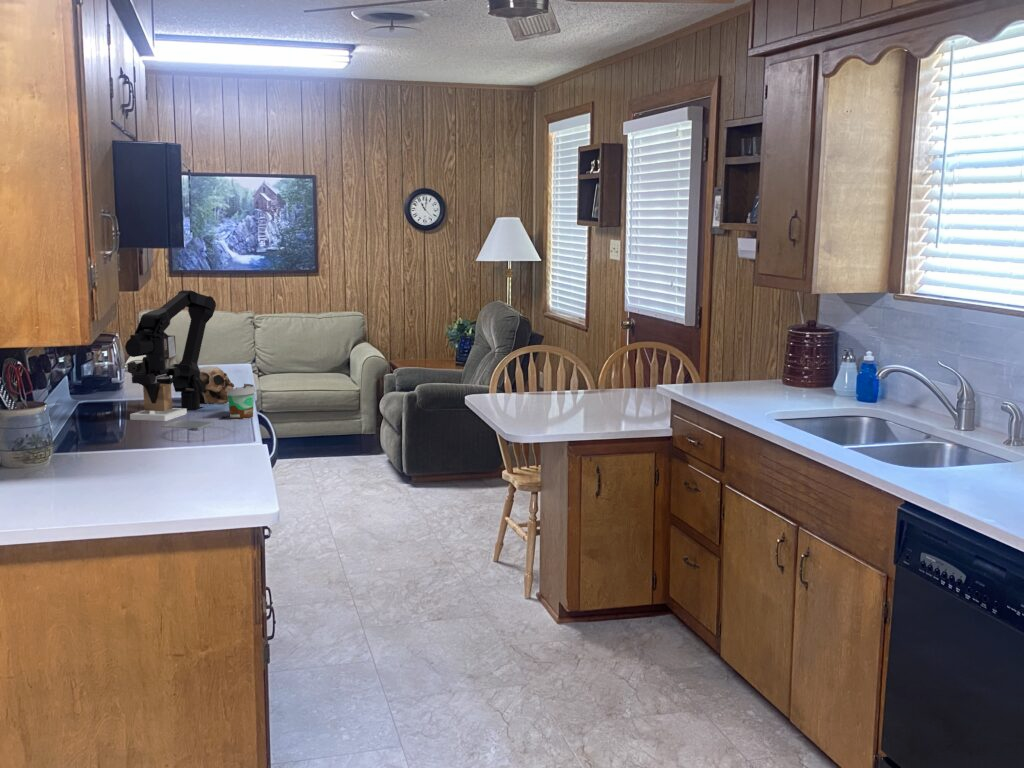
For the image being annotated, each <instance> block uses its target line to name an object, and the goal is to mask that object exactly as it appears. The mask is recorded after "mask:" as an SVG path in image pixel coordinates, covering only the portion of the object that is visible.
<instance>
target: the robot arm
mask: <svg viewBox="0 0 1024 768" xmlns="http://www.w3.org/2000/svg"><path fill="white" fill-rule="evenodd" d="M216 303H217V302H216V300H215V299H214V297H213V296H211V295H205V294H201V293H198V292H196V291H194V290H189V289H188V290H186V289H185V290H184V289H182V290H179V291H178V292H177V294H175V296H173V297H171V299H169V300H168V301H166V303H164V304H163V305H162V306H161V307H159V308H157V309H153V310H150V311H147V312H145V313H144V314H142V316H141V317H140V320H139V323H138V325H137V327H136V329H135V332H134V334H130V335H129V337H130V338H129V339H128V340H127V341H126V342H125V346H124V347H125V348H124V349H125V351H126V355H128V356H129V357H131V358H132V357H133V358H135V357H143V358H142V361H141V362H138V363H136V362H135V361H132V362H128V363H127V368H126V369H127V371H126V372H127V373H129V374H131V383H132V384H139V386H140V385H141V386H142V387H143V386H144V387H145V388H146V390H147V392H148V395H149V397H150V400H151V402H152V403H156V400H157V395H158V391H159V386H160V384H171V385H172V384H173V388H174V389H173V390H174V392H175V393H180V403H181V404H180V405H181V407H180V408H185V409H187V411H197V410H201V409H203V408H205V407H204V406H201V402H200V395H199V393H202V392H204V391H205V387H206V385H205V384H204V382H203V381H202V380H201V379H200V370H199V368H200V367H199V364H198V362H199V358H200V357H199V356H200V351H201V348H202V343H203V339H204V334H205V330H206V326H207V323H208V322H209V320H210V319H212V318H213V316H214V313H215V311H216V307H217V304H216ZM186 308H187V313H188V316H189V317H190V323H189V327H188V331H187V334H186V335H187V337H186V340H185V343H184V344H185V345H184V349H183V354H182V358H181V361H180V362H179V363H177V364H175V365H174V367H166V363H165V360H166V359H168V356H165V345H164V338H168V337H169V336H168V334H167V333H166V332H165V331H166V330H167V328H168V327H169V326H170V325H171V320H172V319H173V318H174V317H176V316H177V315H178V314H180V312H182V311H183V310H184V309H186Z"/></svg>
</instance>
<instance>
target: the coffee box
mask: <svg viewBox="0 0 1024 768" xmlns="http://www.w3.org/2000/svg"><path fill="white" fill-rule="evenodd" d="M167 335H168V334H167ZM168 336H169V337H168V338H164V345H165V356H168V359H166V360H165V363H166V367H174V365H175V364H178V361H177V346H176V345H177V344H176V335H168Z"/></svg>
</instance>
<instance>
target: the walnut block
mask: <svg viewBox="0 0 1024 768" xmlns="http://www.w3.org/2000/svg"><path fill="white" fill-rule="evenodd" d="M142 387H143V389H142V391H143V410H145V411H167V410H170V409H172V408H173V398H172V384H160V386H159V391H158V395H157V400H156V403H152V402H151V400H150V397H149V395H148V392H147V390H146V388H145V387H144V386H143V385H142Z"/></svg>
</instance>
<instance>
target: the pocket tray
mask: <svg viewBox="0 0 1024 768" xmlns="http://www.w3.org/2000/svg"><path fill="white" fill-rule="evenodd" d="M184 415H188V410H187V409H185V408H181V407H172V409H170V410H167V411H145V410H144V409H143V410H139V411H136V412H132V413H129V420H130V421H147V422H149V421H152V422H153V421H154V422H167V421H170V420H173V419H176V418H179V417H182V416H184Z"/></svg>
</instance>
